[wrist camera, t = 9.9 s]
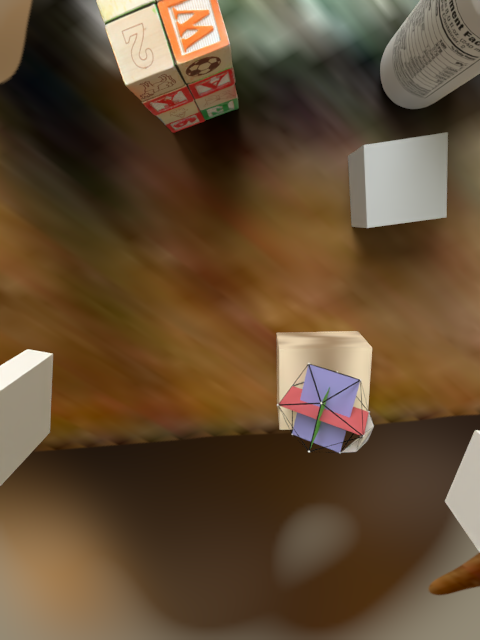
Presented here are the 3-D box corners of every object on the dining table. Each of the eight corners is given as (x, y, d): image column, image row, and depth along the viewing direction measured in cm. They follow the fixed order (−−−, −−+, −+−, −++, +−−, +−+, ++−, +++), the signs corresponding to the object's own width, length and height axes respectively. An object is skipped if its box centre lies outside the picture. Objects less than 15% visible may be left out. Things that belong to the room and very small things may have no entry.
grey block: (351, 226, 33) (367, 228, 28) (347, 156, 32) (363, 145, 27) (418, 217, 33) (446, 217, 28) (418, 145, 31) (447, 132, 26)
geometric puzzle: (253, 426, 31) (319, 490, 25) (267, 354, 29) (342, 404, 23) (311, 411, 36) (380, 463, 29) (327, 347, 34) (405, 388, 27)
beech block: (277, 403, 39) (279, 429, 34) (276, 331, 36) (279, 349, 32) (353, 402, 38) (366, 429, 33) (357, 330, 36) (372, 347, 31)
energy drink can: (458, 96, 30) (645, -17, 15) (385, 123, 31) (498, 39, 16) (444, 14, 28) (638, -196, 14) (368, 45, 29) (476, -124, 15)
